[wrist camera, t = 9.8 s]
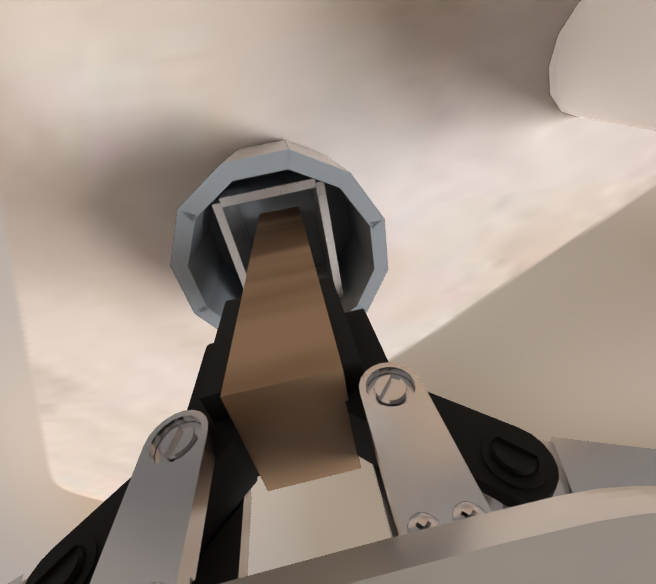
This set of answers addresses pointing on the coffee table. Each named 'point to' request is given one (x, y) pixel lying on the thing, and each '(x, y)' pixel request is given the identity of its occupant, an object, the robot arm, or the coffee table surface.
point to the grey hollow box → (266, 188)
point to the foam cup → (607, 63)
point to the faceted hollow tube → (342, 196)
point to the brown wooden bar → (287, 363)
